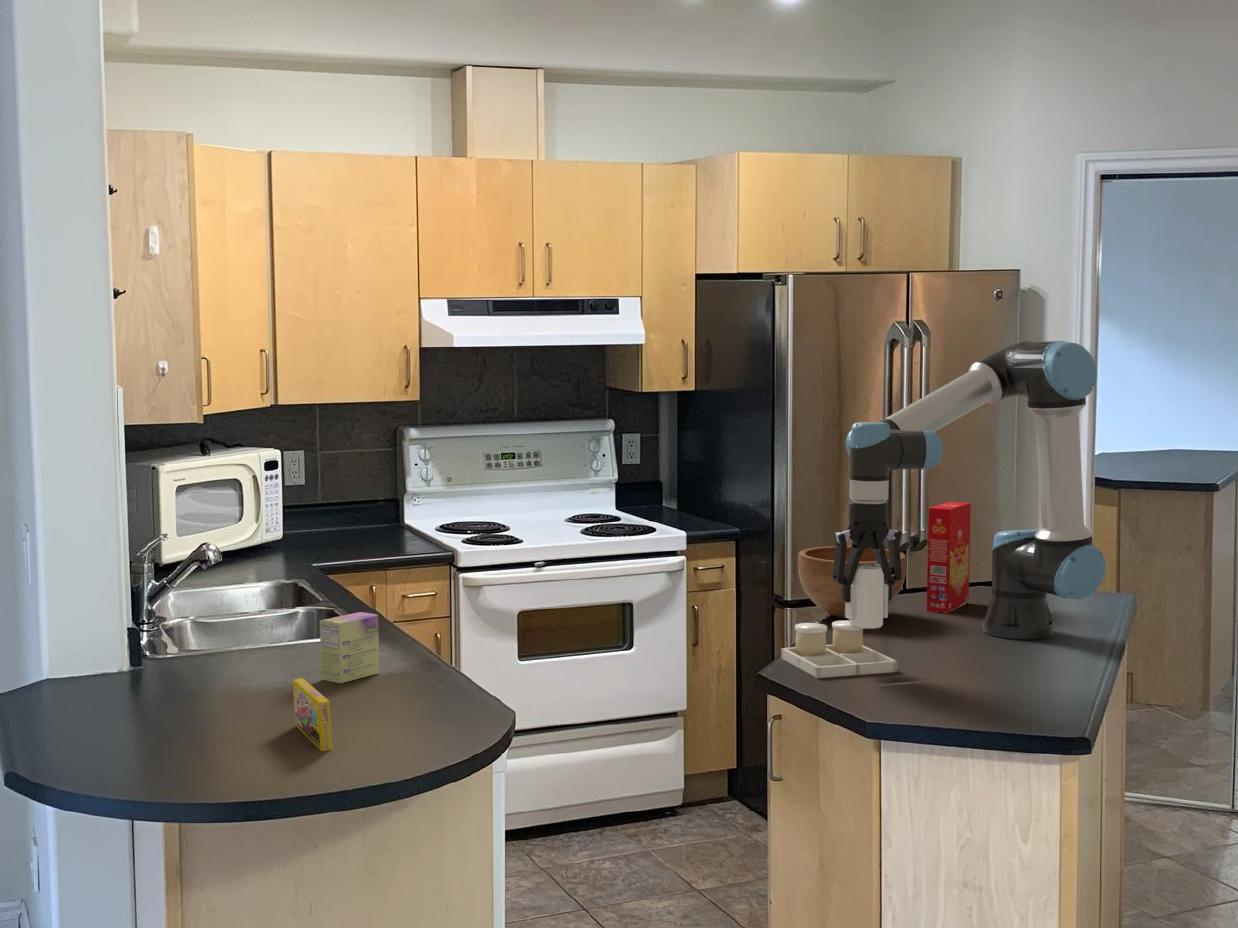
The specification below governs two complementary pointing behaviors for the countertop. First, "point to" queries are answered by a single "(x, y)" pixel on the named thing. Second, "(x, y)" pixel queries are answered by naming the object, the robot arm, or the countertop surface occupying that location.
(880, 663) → the carrier
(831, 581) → the bowl
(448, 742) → the countertop surface
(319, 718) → the candy box
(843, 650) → the paper cup
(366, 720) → the countertop surface
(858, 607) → the can
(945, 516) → the food packaging
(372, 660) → the box
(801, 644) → the paper cup
